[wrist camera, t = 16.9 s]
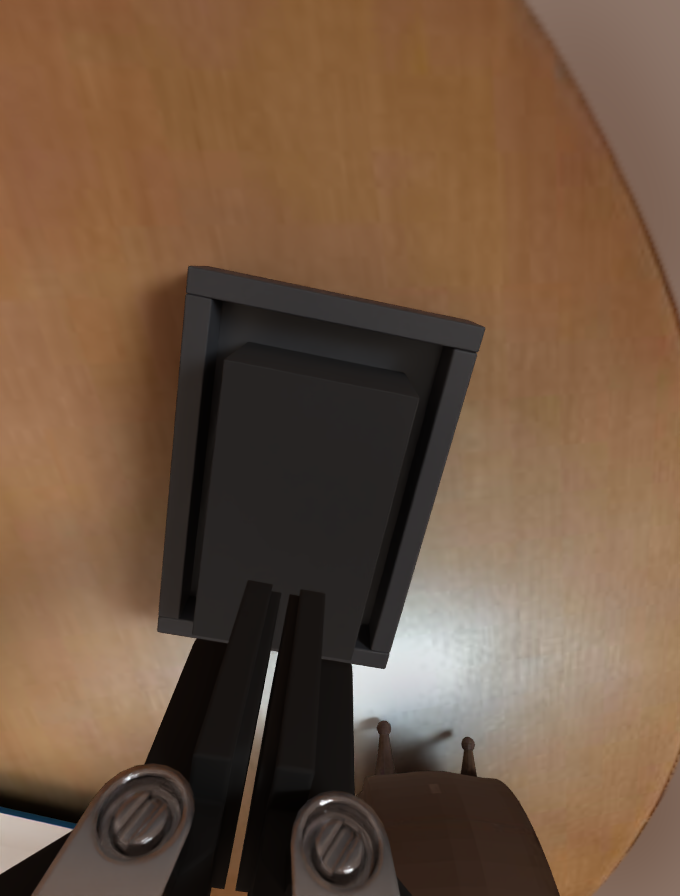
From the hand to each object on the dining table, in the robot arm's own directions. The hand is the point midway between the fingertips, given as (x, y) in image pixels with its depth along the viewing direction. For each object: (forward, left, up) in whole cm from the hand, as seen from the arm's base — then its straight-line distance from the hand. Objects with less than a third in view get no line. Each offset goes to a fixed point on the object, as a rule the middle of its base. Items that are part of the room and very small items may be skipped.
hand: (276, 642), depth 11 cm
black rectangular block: (0, 0, -8) cm, 8 cm away
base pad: (0, 0, -9) cm, 9 cm away
